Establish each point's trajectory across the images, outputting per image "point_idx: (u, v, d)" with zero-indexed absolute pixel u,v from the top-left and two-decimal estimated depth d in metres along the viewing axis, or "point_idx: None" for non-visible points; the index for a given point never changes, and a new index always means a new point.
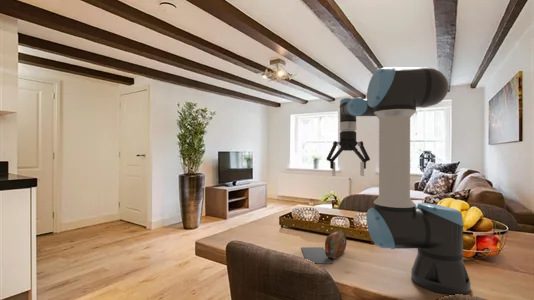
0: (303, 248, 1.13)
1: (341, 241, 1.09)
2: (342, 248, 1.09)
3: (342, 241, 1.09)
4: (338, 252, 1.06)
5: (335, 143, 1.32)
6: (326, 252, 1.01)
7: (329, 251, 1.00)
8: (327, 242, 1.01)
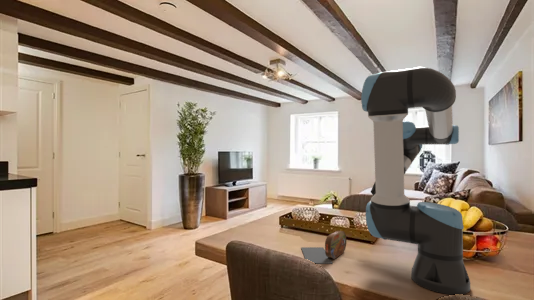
0: (303, 248, 1.13)
1: (341, 241, 1.09)
2: (342, 248, 1.09)
3: (342, 241, 1.09)
4: (338, 252, 1.06)
5: None
6: (326, 252, 1.01)
7: (329, 251, 1.00)
8: (327, 242, 1.01)
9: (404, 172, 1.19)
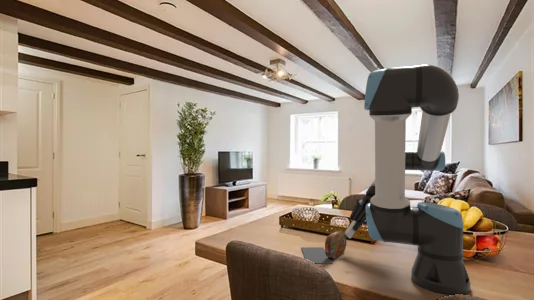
0: (303, 248, 1.13)
1: (341, 241, 1.09)
2: (342, 248, 1.09)
3: (342, 241, 1.09)
4: (338, 252, 1.06)
5: (357, 201, 1.19)
6: (326, 252, 1.01)
7: (329, 251, 1.00)
8: (327, 242, 1.01)
9: None
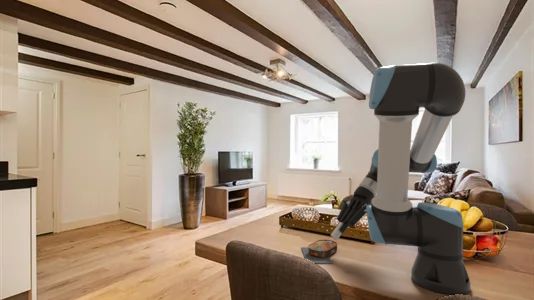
0: (303, 248, 1.13)
1: (325, 243, 1.13)
2: (333, 244, 1.12)
3: (327, 243, 1.13)
4: (330, 247, 1.08)
5: (344, 202, 1.17)
6: (318, 255, 1.03)
7: (316, 252, 1.03)
8: (310, 252, 1.06)
9: (372, 198, 1.11)
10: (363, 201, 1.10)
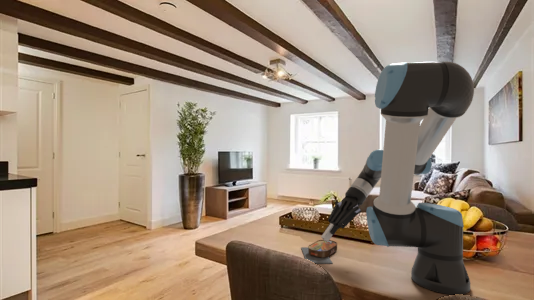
0: (303, 248, 1.13)
1: (325, 243, 1.13)
2: (333, 244, 1.12)
3: (327, 243, 1.13)
4: (330, 247, 1.08)
5: (336, 203, 1.14)
6: (318, 255, 1.03)
7: (316, 252, 1.03)
8: (309, 252, 1.06)
9: (364, 199, 1.09)
10: (354, 202, 1.07)
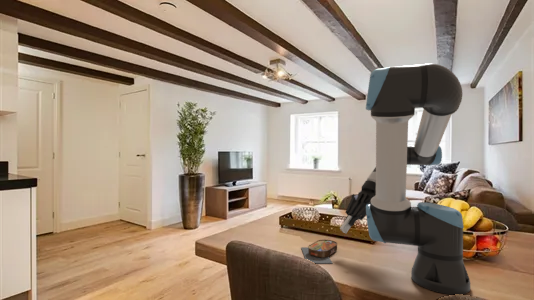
0: (303, 248, 1.13)
1: (325, 243, 1.13)
2: (333, 244, 1.12)
3: (327, 243, 1.13)
4: (330, 247, 1.08)
5: (352, 196, 1.18)
6: (318, 255, 1.03)
7: (316, 252, 1.03)
8: (309, 252, 1.06)
9: None
10: (371, 195, 1.11)
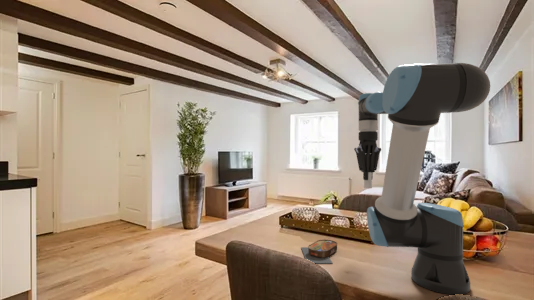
0: (303, 248, 1.13)
1: (325, 243, 1.13)
2: (333, 244, 1.12)
3: (327, 243, 1.13)
4: (330, 247, 1.08)
5: (360, 150, 1.13)
6: (318, 255, 1.03)
7: (316, 252, 1.03)
8: (309, 252, 1.06)
9: None
10: (375, 144, 1.17)
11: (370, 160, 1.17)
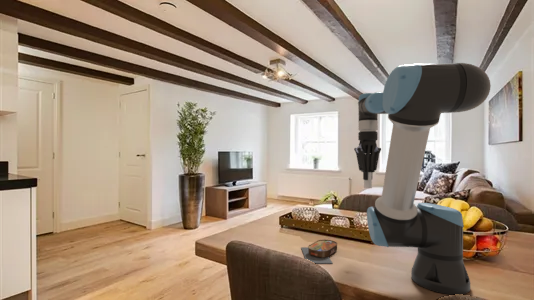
0: (303, 248, 1.13)
1: (325, 243, 1.13)
2: (333, 244, 1.12)
3: (327, 243, 1.13)
4: (330, 247, 1.08)
5: (360, 150, 1.13)
6: (318, 255, 1.03)
7: (316, 252, 1.03)
8: (309, 252, 1.06)
9: None
10: (375, 144, 1.17)
11: (370, 160, 1.17)
